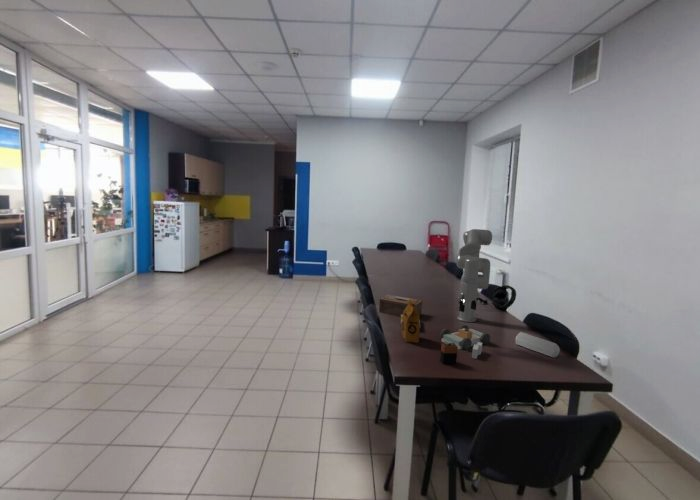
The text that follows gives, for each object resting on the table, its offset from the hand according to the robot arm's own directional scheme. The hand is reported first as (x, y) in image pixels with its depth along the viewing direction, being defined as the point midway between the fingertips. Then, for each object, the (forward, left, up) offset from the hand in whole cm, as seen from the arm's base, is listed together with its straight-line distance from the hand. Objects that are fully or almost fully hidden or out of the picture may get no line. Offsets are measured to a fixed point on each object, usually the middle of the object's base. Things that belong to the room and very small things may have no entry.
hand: (467, 310), depth 211 cm
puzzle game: (+10, -34, -19) cm, 41 cm away
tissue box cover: (-1, -57, -19) cm, 60 cm away
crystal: (-27, +26, -19) cm, 42 cm away
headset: (-78, -36, -19) cm, 88 cm away
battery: (+30, +15, -19) cm, 38 cm away
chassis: (0, 0, -18) cm, 18 cm away
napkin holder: (+9, +16, -19) cm, 26 cm away
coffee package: (+26, -17, -19) cm, 36 cm away
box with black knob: (0, 0, -17) cm, 17 cm away
